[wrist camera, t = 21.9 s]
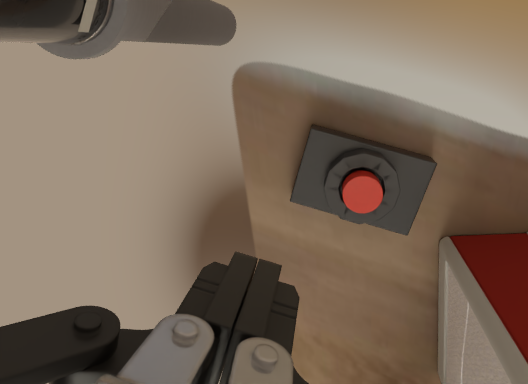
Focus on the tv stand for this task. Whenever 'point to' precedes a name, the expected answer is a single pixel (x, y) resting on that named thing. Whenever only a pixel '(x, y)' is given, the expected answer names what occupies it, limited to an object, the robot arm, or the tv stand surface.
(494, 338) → the red striped gift box
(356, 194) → the button
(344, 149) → the switch box
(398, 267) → the tv stand surface
